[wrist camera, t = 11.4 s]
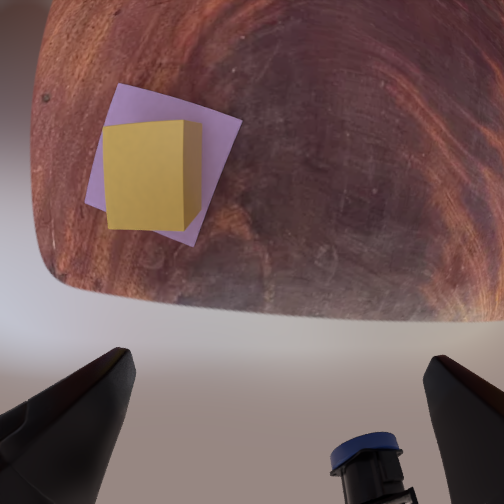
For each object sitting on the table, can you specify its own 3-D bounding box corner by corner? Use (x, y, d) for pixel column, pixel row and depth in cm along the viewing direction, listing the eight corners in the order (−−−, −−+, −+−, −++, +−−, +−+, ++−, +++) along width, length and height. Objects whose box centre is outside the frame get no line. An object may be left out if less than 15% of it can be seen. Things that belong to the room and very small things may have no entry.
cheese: (201, 210, 17) (184, 231, 13) (138, 209, 17) (107, 229, 13) (202, 123, 15) (183, 119, 11) (136, 126, 15) (102, 126, 11)
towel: (194, 245, 18) (193, 247, 18) (86, 202, 17) (84, 203, 17) (243, 120, 15) (242, 120, 15) (120, 83, 14) (118, 82, 14)
